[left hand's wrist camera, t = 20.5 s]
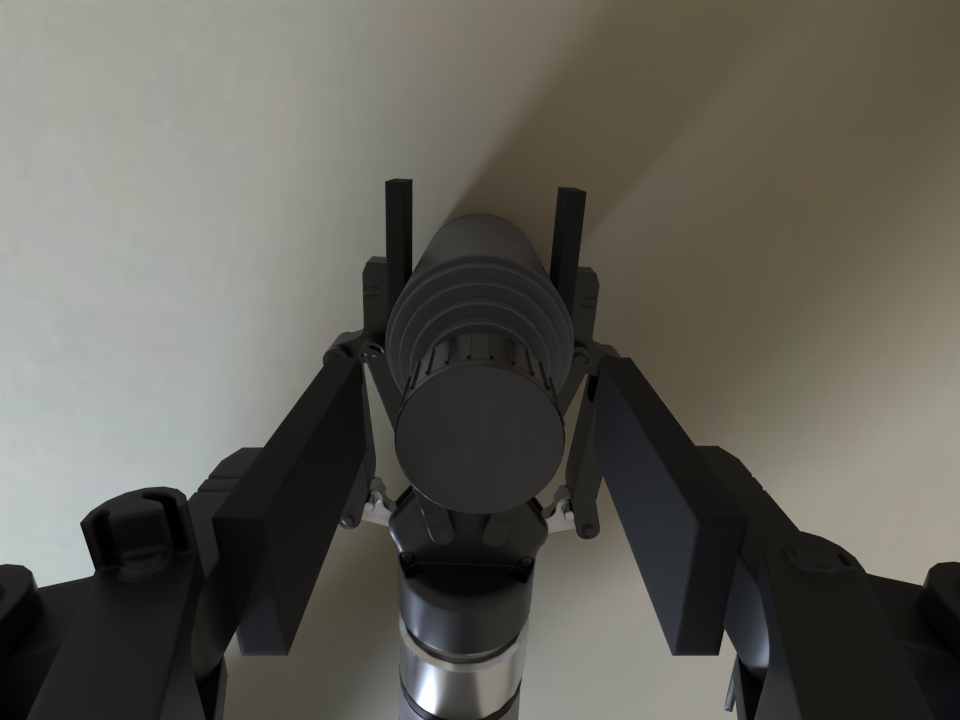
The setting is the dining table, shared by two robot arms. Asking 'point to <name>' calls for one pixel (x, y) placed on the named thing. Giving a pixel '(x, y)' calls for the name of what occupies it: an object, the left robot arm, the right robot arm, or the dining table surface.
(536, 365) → the cap
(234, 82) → the dining table surface
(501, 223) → the bottle
